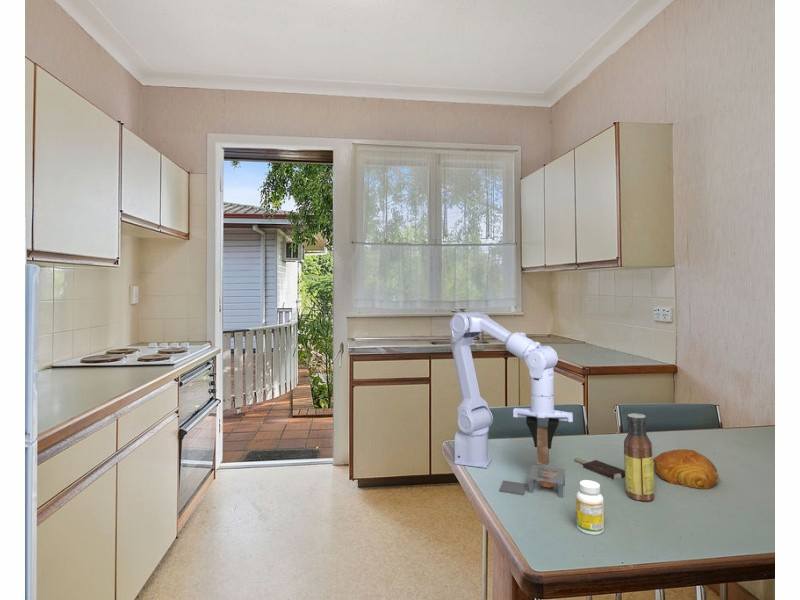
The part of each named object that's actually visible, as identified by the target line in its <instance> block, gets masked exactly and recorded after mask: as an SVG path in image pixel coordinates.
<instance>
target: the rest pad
mask: <svg viewBox="0 0 800 600" xmlns="http://www.w3.org/2000/svg"><path fill="white" fill-rule="evenodd" d="M527 487H528V483H524V482H517V481H510V480H505V479H504V480H503V481H502V483H501V485H500V487H499V488H498V491H499V492H501V493H506V492H507V493H509V494H514V495H520V496H524V495H525V493H526V489H527Z"/></svg>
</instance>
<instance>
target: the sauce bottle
mask: <svg viewBox="0 0 800 600" xmlns="http://www.w3.org/2000/svg"><path fill="white" fill-rule="evenodd" d="M626 419H627V425H628V427H627V428H628V430H627V431H628V432H627V434H626V437H625V438H624V440H623V461H624V462H623V464H624V471H625V478H624V480H625V493H626V495H627V496H628V497H629V498H630V499H632V500H635V501H640V502H650V501H653V500H654V499H655V498H654V497H655V472H654V471H655V469H654V462H653V459H654V455H653V446H652V445H653V443H652V441H651V440H650V438H649V436H648V434H647V431H646V430H647V429H646V423H647V416H646V415H645V414H643V413H635V412H634V413H633V412H632V413H628V414H627V417H626Z"/></svg>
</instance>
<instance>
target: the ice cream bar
mask: <svg viewBox="0 0 800 600" xmlns="http://www.w3.org/2000/svg"><path fill="white" fill-rule="evenodd" d="M574 461H575V462H577V463H579V464H582V465H583V466H582V467H583V469H585V470H588V471H590V472H593V473H596V474H598V475H600V476H602V477H605V476H606V477H605V478H609V479H610V478H611V480H615V479H617V478H618V479H625V478H624V477H625V469H622V468H618V467H617V466H615V465H611V464H608V463H605V462H603V461H600V460H598V459H595V460H591V461H587V460H585V459H582V458H579V457H575V458H574Z"/></svg>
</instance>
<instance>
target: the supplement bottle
mask: <svg viewBox="0 0 800 600" xmlns="http://www.w3.org/2000/svg"><path fill="white" fill-rule="evenodd" d="M575 497H576V499H575V501H576V503H575V505H576V513H575V515H576V519H575V520H576V522H575V523H576V524H575V525H576V528H577V529H578V530H579V531H581V532H582V533H583V534H586V535H592V536H598V535H601V534H603V532H604V530H605V529H604V528H605V524H604V523H605V522H604V521H605V519H604V515H605V514H604V513H605V512H604V511H605V510H604V506H605V505H604V496H603V495H602V494H601V485H600V483H598V481H594V480H591V479H590V480H589V479H583V480H580V482H579V490H578V491H577V492H576V496H575Z"/></svg>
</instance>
